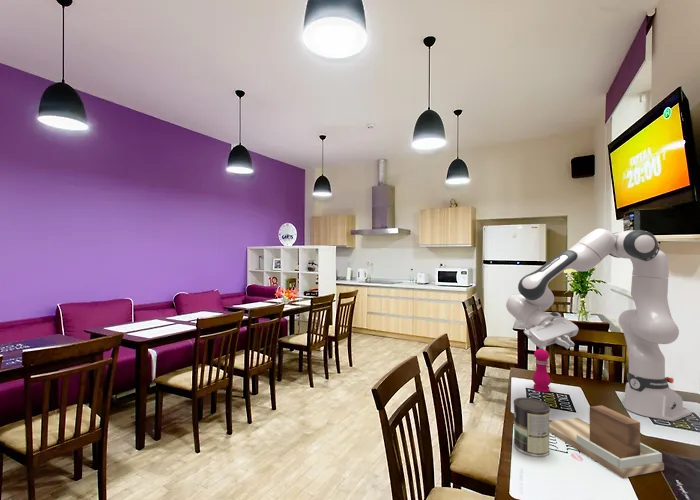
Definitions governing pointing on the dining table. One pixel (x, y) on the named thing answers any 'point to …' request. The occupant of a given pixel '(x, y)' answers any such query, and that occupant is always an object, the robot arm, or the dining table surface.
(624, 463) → the sage frame
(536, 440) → the coffee can
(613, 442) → the walnut box
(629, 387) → the robot arm
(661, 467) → the birch board
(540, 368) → the pepper mill
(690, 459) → the dining table surface
